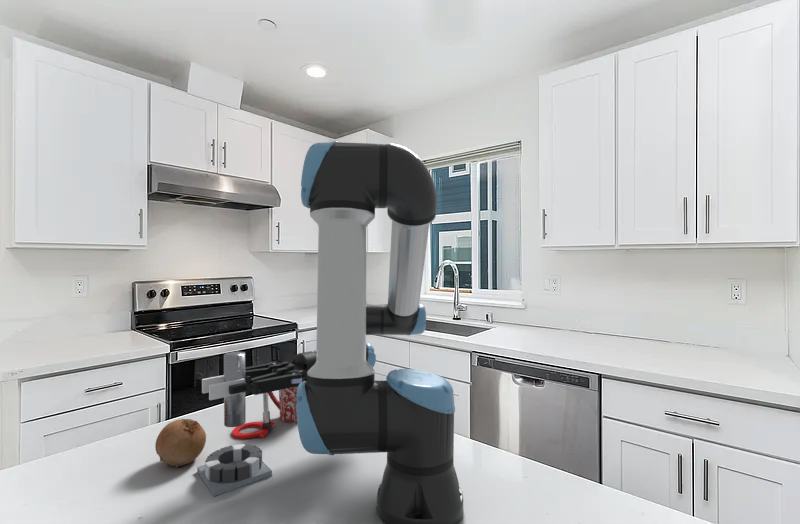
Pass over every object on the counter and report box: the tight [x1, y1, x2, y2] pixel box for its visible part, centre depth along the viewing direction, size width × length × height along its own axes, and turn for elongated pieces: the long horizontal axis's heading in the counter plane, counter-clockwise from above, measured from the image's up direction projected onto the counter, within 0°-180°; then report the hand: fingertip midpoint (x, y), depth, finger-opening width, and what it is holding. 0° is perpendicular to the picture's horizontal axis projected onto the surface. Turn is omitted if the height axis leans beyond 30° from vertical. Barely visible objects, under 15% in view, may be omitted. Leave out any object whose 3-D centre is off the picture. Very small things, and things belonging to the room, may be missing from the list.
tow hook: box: [231, 393, 275, 440], centre depth 102 cm, size 8×13×9 cm
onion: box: [154, 418, 207, 469], centre depth 87 cm, size 10×9×10 cm
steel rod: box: [223, 351, 247, 428], centre depth 82 cm, size 4×4×14 cm
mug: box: [268, 387, 298, 423], centre depth 111 cm, size 13×9×14 cm
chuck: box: [196, 443, 273, 497], centre depth 82 cm, size 11×11×4 cm
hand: (206, 389), depth 79 cm, fingers closed on steel rod, 4 cm apart
